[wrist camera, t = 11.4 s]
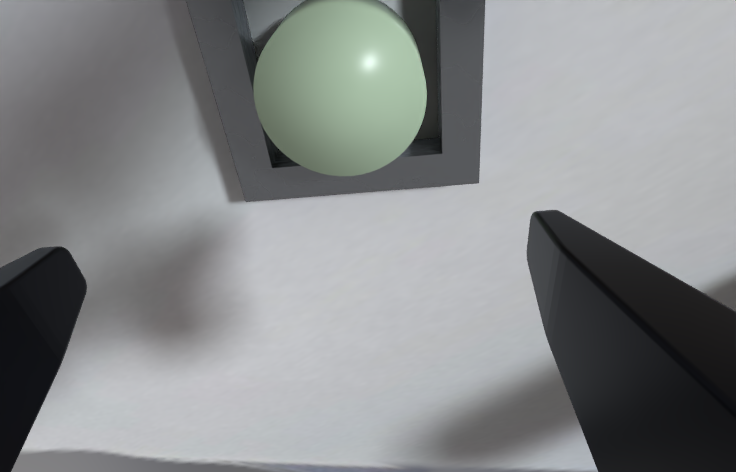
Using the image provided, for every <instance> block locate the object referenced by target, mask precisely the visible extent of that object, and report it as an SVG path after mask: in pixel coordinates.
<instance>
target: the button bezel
mask: <svg viewBox="0 0 736 472" xmlns="http://www.w3.org/2000/svg"><path fill="white" fill-rule="evenodd" d="M186 2H187V5H188V9H189V12H190V15H191V19H192V22H193V26H194V29H195V32H196V36H197V39H198V42H199V46H200V49H201V53H202V56H203V59H204V63H205V66H206V69H207V73H208V76H209V79H210V83H211V86H212V90H213V93H214V96H215V100H216V103H217V106H218V110H219V113H220V117H221V120H222V123H223V127H224V130H225V133H226V137H227V140H228V143H229V147H230V150H231V154H232V157H233V160H234V164H235V167H236V170H237V174H238V177H239V181H240V184H241V187H242V191H243V194H244V197H245V201H246V202H250V201H262V200H275V199H287V198H300V197H312V196H325V195H337V194H350V193H362V192H375V191H387V190H400V189H412V188H425V187H437V186H450V185H462V184H475V183H479V168H480V138H481V108H482V79H483V49H484V19H485V0H436V31H437V80H438V128H439V138H432V139H421V140H413V141H412V143H411V144H410V145H409V146H408V147H407V149H406V150H405V151H404V152H403V153H402V154H401V155H400V156H398V157H397V158H396V159H395V160H393V161H392V162H390V163H389V164H387V165H385V166H384V167H382V168H380V169H377V170H375V171H372V172H369V173H365V174H362V175H355V176H332V175H326V174H321V173H318V172H315V171H312V170H309V169H307V168H305V167H303V166H301V165H299V164H298V163H296V162H294V161H293V160H291V159H290V158H289V157H287V156H286V155H285V154H284V153H283V152H278V149H277V147H276V145H275V144H274V143H273V142H272V140H271V139H270V138H269V136H268V135H267V133H266V132H265V130H264V128H263V126H262V124H261V122H260V120H259V117H258V114H257V110H256V106H255V101H254V89H253V85H254V75H255V70H256V66H257V59H256V55H255V51H254V47H253V42H252V38H251V34H250V29H249V25H248V21H247V17H246V12H245V8H244V4H243V0H186Z"/></svg>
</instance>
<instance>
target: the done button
mask: <svg viewBox="0 0 736 472" xmlns="http://www.w3.org/2000/svg"><path fill="white" fill-rule="evenodd" d="M253 89H254V101H255V106H256V110H257V114H258V117H259V120H260V122H261V124H262V126H263V128H264V130H265V132H266V133H267V135H268V136H269V138H270V139H271V140H272V142H273V143H274V144H275V145H276V147H277V148H278V149H279V150H280V151H282V152H283V153H284V154H285V155H286V156H287V157H289V158H290V159H291V160H293V161H294V162H296V163H298V164H299V165H301V166H303V167H305V168H307V169H309V170H312V171H315V172H318V173H321V174H326V175H332V176H355V175H362V174H365V173H369V172H372V171H375V170H377V169H380V168H382V167H384V166H385V165H387V164H389V163H390V162H392V161H393V160H395V159H396V158H397V157H398V156H400V155H401V154H402V153H403V152H404V151H405V150H406V149H407V147H408V146H409V145H410V144H411V143H412V141H413V139H414V138H415V136H416V135H417V133H418V131H419V128H420V126H421V124H422V121H423V118H424V114H425V109H426V101H427V89H426V80H425V76H424V71H423V67H422V63H421V58H420V54H419V50H418V47H417V44H416V41H415V39H414V37H413V35H412V33H411V31H410V29H409V28H408V26H407V25H406V24H405V22H404V21H403V19H402V18H401V17H400V16H399V15H398V14H397V13H396V12H395V11H394V10H392V9H391V8H390V7H388V6H387V5H386V4H384V3H382V2H381V1H379V0H306V1H304V2H302V3H301V4H299V5H298V6H297V7H295V8H294V9H293V10H292V11H291V12H290V13H289V14H288V15H287V16H286V17H285V19H284V20H283V21H282V22H281V24H280V25H279V27H278V28H277V29H276V31H275V32H274V34H273V35H272V36H271V38H270V39H269V41H268V42H267V44H266V45H265V47H264V49H263V51H262V53H261V55H260V57H259V60H258V63H257V66H256V70H255V75H254V85H253Z"/></svg>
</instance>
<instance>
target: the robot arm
mask: <svg viewBox="0 0 736 472" xmlns="http://www.w3.org/2000/svg"><path fill="white" fill-rule="evenodd" d="M527 261H528V266H529V270H530V274H531V278H532V282H533V286H534V290H535V294H536V298H537V302H538V306H539V310H540V314H541V318H542V322H543V326H544V330H545V334H546V337H547V340H548V343H549V345H550V348H551V351H552V353H553V356H554V358H555V361H556V364H557V366H558V369H559V371H560V374H561V377H562V379H563V382H564V384H565V387H566V389H567V392H568V395H569V397H570V400H571V402H572V405H573V408H574V410H575V413H576V415H577V418H578V420H579V423H580V426H581V428H582V431H583V433H584V436H585V439H586V441H587V444H588V446H589V449H590V451H591V454H592V457H593V459H594V462H595V464H596V467H597V470H598V472H736V311H734V310H732V309H730V308H729V307H727V306H725V305H723V304H722V303H720V302H718V301H716V300H715V299H713V298H711V297H709V296H708V295H706V294H704V293H702V292H701V291H699V290H697V289H695V288H693V287H692V286H690V285H688V284H686V283H685V282H683V281H681V280H679V279H678V278H676V277H674V276H672V275H671V274H669V273H667V272H665V271H664V270H662V269H660V268H658V267H657V266H655V265H653V264H651V263H650V262H648V261H646V260H644V259H643V258H641V257H639V256H637V255H636V254H634V253H632V252H630V251H629V250H627V249H625V248H623V247H621V246H620V245H618V244H616V243H614V242H613V241H611V240H609V239H607V238H606V237H604V236H602V235H600V234H599V233H597V232H595V231H593V230H592V229H590V228H588V227H586V226H585V225H583V224H581V223H579V222H578V221H576V220H574V219H572V218H571V217H569V216H567V215H565V214H564V213H562V212H560V211H558V210H546V211H536V212H534V213H533V214H532V216H531V219H530V227H529V236H528V244H527ZM86 290H87V285H86V280H85V278H84V276H83V275H82V273H81V271H80V269H79V268H78V266H77V264H76V262H75V261H74V259H73V257H72V255H71V254H70V252H69V251H68V250H67V249H66V248H64V247H45V248H39V249H37V250H35V251H33V252H31V253H29V254H27V255H25V256H23V257H21V258H19V259H17V260H15V261H13V262H11V263H9V264H7V265H5V266H3V267H1V268H0V472H11V471H12V468H13V466H14V464H15V462H16V460H17V457H18V456H19V453H20V451H21V449H22V447H23V445H24V443H25V441H26V439H27V436H28V434H29V432H30V430H31V428H32V426H33V424H34V421H35V419H36V417H37V415H38V413H39V411H40V409H41V407H42V404H43V402H44V400H45V398H46V396H47V394H48V392H49V389H50V387H51V385H52V383H53V381H54V379H55V377H56V375H57V372H58V370H59V368H60V365H61V363H62V360H63V358H64V355H65V352H66V350H67V347H68V344H69V341H70V338H71V335H72V332H73V329H74V326H75V324H76V321H77V318H78V315H79V312H80V309H81V306H82V303H83V300H84V298H85V295H86Z"/></svg>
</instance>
